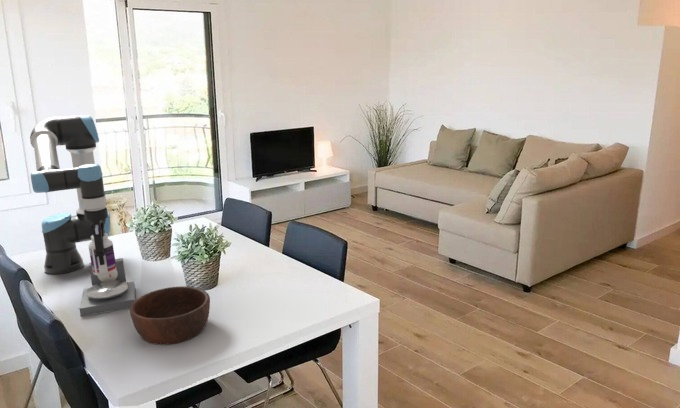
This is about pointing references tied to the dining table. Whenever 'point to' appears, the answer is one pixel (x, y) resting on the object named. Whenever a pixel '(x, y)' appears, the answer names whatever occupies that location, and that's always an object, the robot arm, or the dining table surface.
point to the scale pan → (107, 289)
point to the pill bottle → (108, 253)
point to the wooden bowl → (170, 314)
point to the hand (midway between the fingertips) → (104, 268)
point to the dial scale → (110, 304)
